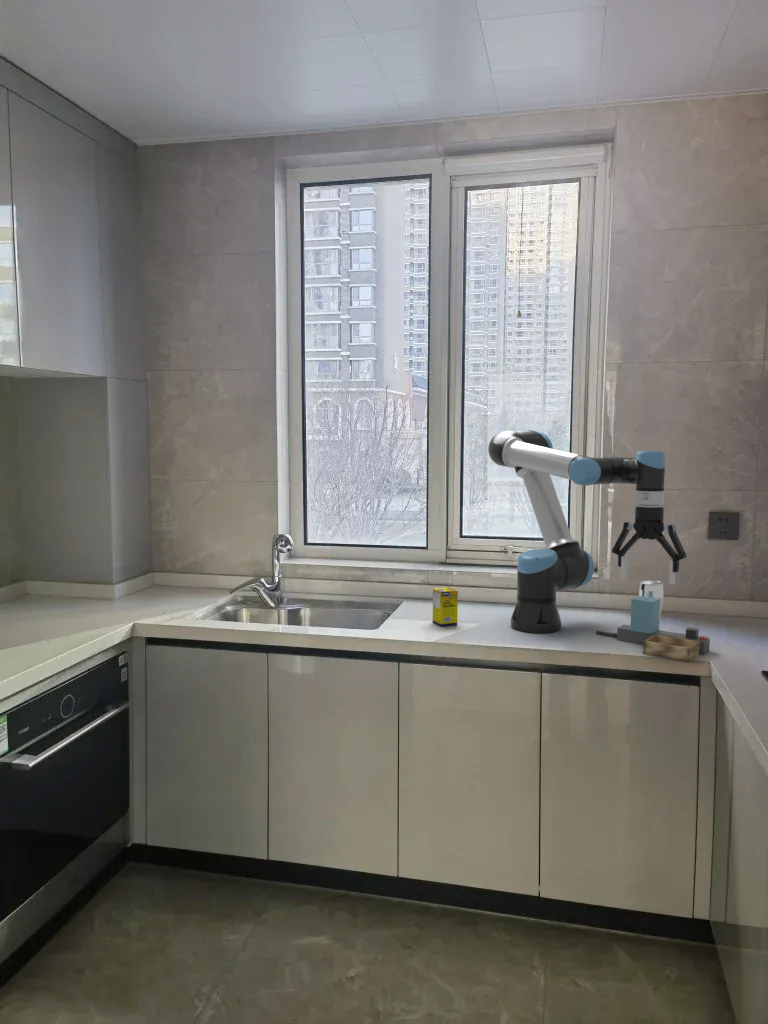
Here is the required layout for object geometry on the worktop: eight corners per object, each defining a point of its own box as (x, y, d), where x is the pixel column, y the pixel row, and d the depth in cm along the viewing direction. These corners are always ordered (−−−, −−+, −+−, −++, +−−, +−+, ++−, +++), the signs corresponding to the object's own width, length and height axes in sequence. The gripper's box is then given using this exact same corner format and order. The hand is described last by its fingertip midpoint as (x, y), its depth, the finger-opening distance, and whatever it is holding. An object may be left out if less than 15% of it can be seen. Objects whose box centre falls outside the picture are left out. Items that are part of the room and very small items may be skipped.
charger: (630, 639, 217) (631, 598, 216) (637, 635, 222) (639, 595, 221) (651, 643, 213) (652, 601, 212) (658, 638, 218) (660, 598, 217)
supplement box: (457, 625, 237) (458, 590, 235) (440, 626, 234) (440, 591, 233) (449, 620, 242) (449, 586, 241) (432, 622, 240) (432, 588, 239)
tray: (643, 653, 206) (643, 641, 205) (654, 646, 213) (655, 634, 212) (689, 662, 198) (689, 648, 198) (699, 654, 205) (700, 641, 205)
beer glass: (632, 629, 232) (634, 580, 230) (651, 627, 234) (653, 579, 233) (648, 635, 225) (650, 585, 224) (667, 633, 228) (669, 583, 226)
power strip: (592, 635, 225) (592, 615, 224) (598, 632, 228) (599, 612, 228) (703, 654, 205) (704, 633, 205) (709, 650, 209) (710, 629, 208)
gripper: (601, 504, 219) (599, 578, 220) (691, 509, 203) (688, 588, 205) (611, 503, 224) (609, 574, 226) (699, 507, 209) (697, 584, 211)
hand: (647, 581), depth 216 cm, fingers open, 13 cm apart
